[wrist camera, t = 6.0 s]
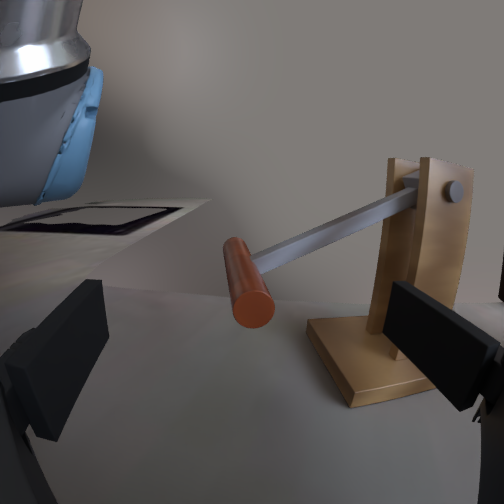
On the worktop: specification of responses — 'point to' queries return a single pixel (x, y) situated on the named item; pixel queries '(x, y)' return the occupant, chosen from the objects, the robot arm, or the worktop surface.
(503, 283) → the coffee mug
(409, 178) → the lever
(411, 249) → the bracket
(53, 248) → the worktop surface
